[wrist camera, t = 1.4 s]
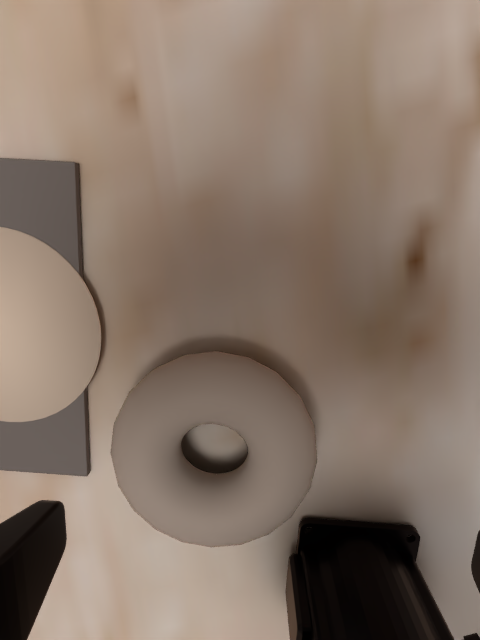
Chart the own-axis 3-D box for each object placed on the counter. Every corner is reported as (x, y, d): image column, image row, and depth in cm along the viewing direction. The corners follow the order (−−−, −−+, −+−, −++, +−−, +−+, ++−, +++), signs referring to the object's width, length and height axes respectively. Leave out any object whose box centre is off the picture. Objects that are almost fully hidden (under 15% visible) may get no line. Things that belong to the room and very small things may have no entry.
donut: (87, 408, 20) (197, 542, 21) (53, 442, 16) (186, 599, 18) (241, 304, 18) (347, 457, 20) (238, 318, 15) (366, 502, 16)
